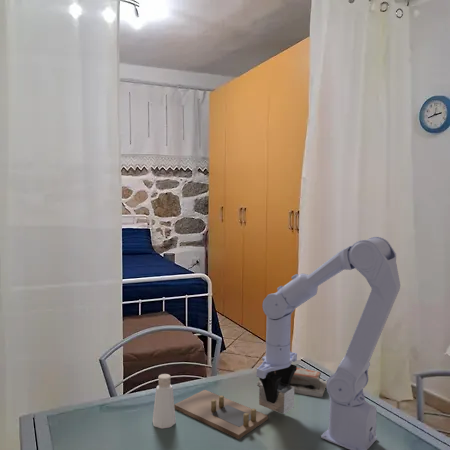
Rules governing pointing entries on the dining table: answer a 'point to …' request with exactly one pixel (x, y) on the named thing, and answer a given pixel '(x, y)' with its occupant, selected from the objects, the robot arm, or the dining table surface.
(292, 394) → the block
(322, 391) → the packaged product
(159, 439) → the dining table surface
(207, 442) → the dining table surface
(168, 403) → the salt shaker
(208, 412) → the walnut tray
